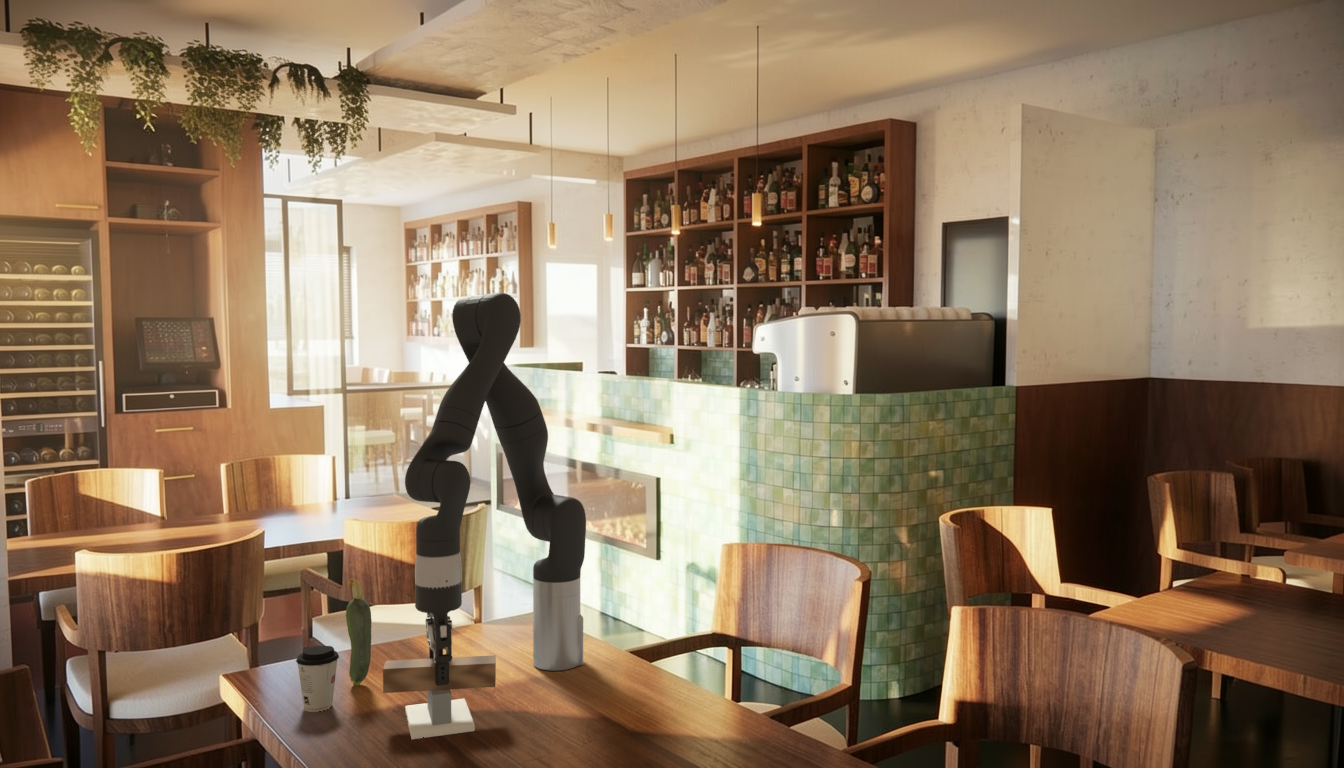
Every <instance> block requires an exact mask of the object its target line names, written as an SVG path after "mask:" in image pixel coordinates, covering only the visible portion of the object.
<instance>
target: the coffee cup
mask: <svg viewBox="0 0 1344 768" xmlns="http://www.w3.org/2000/svg"><path fill="white" fill-rule="evenodd" d="M339 658H340V655H339V653H338V652H337V650H335V648H334V647H333V646H332V645H315V646H310V647H307V648H305V649H303V650H302V653H300V654H299V655H297V658H296V660H295V662H296V663H297V668H298V676H299V681H300V682H299V684H300V689H301V695H302V704H303V710H304V711H305V712H308V713H320V712H319V711H321V712H324V711H323V710H325V711H327V710H326V709H328V710H329V708H330V707H331V706H332V707H333V704H334V703H333V702H334V701H333V700H334V694H335V693H334V692H335V683H336V677H337V676H336V675H337V666H338V659H339ZM332 707H331V708H332ZM331 708H330V709H331Z"/></svg>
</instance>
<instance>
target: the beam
mask: <svg viewBox="0 0 1344 768" xmlns="http://www.w3.org/2000/svg"><path fill="white" fill-rule="evenodd" d="M496 656H497V655H474V656H457V657H456V656H454V657H453V656H452V661H450V662H449V683H448V684H447V685H440V686H437V685H436V684H435V663H434V658H431V659H429V658H416V659H414V658H413V659H397V660H396V659H395V660H393V659H392V660H385V663H384V665H383V668H382V693H383V694H389V693H390V694H392V693H408V692H409V693H410V692H427V691H431V690H449V689H450V690H463V689H465V690H466V689H467V690H468V689H481V688H483V689H484V688H496V682H497V679H496V678H497V677H496V676H497V675H496V674H497V671H496V668H497V667H496V665H497V664H496V663H497V662H496V661H497V660H496V659H497V658H496Z"/></svg>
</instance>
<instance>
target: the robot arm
mask: <svg viewBox="0 0 1344 768" xmlns="http://www.w3.org/2000/svg"><path fill="white" fill-rule="evenodd" d="M451 314H452V319H451V320H452V324H453V329H454V333H455V335H456V338H457V341H458V342H459V344H460V347H461V350H462V351H463V353H464V355H465V358H466V359H467V361H468V364H467V365H466V366H465V369H463V370H462V371H461V373H460V374H459V375H458V376H457V377H456V379H455V380H454V381H453V382H452V384H451V385H450V386H449V388H448V389H447V390H446V392H445V394H444V396H443V398H442V399H441V401H440V404H439V406H438V410H437V413H436V416H435V419H434V422H433V424H432V429H431V431H430V433H429V434H428V436H427V437H426V439H424V441H423V443H422V444H421V446H420V447H419V449H418V450H417V452H416V453H415V455H414V456H413V458H412V459H411V461H410V463H409V464H408V467H407V469H406V473H405V477H404V487H405V490H406V493H407V495H408V496H409V498H411V499H412V500H413V501H417V502H425V503H436V504H438V503H439V509H438V512H437V514H434V515H428V516H424V517H422V518H420V519H419V520H418V521H417V523H416V524H417V525H416V529H415V530H416V532H415V535H416V539H415V541H416V542H415V543H416V544H415V545H416V546H415V547H416V548H415V550H416V551H415V553H416V557H415V564H414V582H415V583H414V594H415V595H414V607H415V609H416V610H417V611H418V612H421V613H425V614H426V617H425V620H424V621H425V634H426V635H425V636H426V639H427V640H426V642H427V645H428V646H429V647H428V648H429V649H428V651H429V652H428V653H429V654H428V655H429V656H428V657H429V658H428V659H431V658H434V663H435V684H436V685H437V686H440V685H447V684H448V683H449V662H450V661H452V657H453V656H452V654H453V653H452V652H453V651H452V645H453V637H452V630H453V620H452V619H451V617H450V615H448V614H449V613H450V612H453V611H457V610H458V609H459V608H460V607H461V606H462V603H463V601H462V600H463V599H462V598H463V596H462V595H463V594H462V593H463V592H462V590H463V588H462V587H463V586H462V583H463V581H462V579H463V578H462V577H463V575H462V572H463V571H462V569H463V568H462V558H461V546H460V544H461V543H460V542H461V540H460V539H461V538H460V537H461V525H462V521H463V516H464V511H465V508H466V505H467V500H468V497H469V494H470V489H471V477H470V473H469V470H468V468H467V467H466V466H465V465H464V463H462V462H461V461H457V460H448V458H450V457H452V456H454V455H459V454H462V453H465V452H467V451H468V450H469V449H470V448H471V447H472V444H473V441H474V439H475V438H474V437H475V435H476V434H475V433H476V431H477V427H478V424H479V422H480V417H481V415H482V411H483V409H484V406H485V404H486V406H487V408H488V412H489V414H490V417H491V420H492V424H493V428H494V429H495V433H496V435H497V438H498V440H499V443H500V445H501V447H502V450H503V453H504V456H505V457H506V462H507V464H508V469H509V470H510V474H511V476H512V479H513V482H514V485H515V490H516V494H517V498H518V502H519V506H520V511H521V515H522V519H523V521H524V522H523V523H524V524H525V527H526V530H527V531H528V533H529V534H530V535H531V536H532V537H533V538H535V539H538V540H539V541H542V542H543V541H544V542H548V543H549V546H548V555H547V557H543V558H541V559H538V560H537V561H535V563H534V564H533V568H532V569H533V570H532V575H533V577H532V578H533V579H532V581H533V582H532V585H533V586H532V589H533V596H532V597H533V603H532V604H533V605H532V608H533V609H532V610H533V611H532V612H533V613H532V614H533V616H532V618H533V620H532V627H533V629H532V632H533V634H532V635H533V636H532V637H533V638H532V639H533V640H532V641H533V642H532V645H533V646H532V647H533V650H532V656H533V657H532V658H533V659H532V661H533V663H532V664H533V666H534V667H535V668H537V669H539V670H542V671H543V670H544V671H565V670H570V669H573V668H577V667H578V666H584V616H583V615H582V614H581V575H582V574H581V572H582V571H581V570H582V566H583V565H584V560H585V553H586V550H585V549H586V536H587V535H586V532H587V518H586V516H587V515H586V511H585V507H584V505H583V503H582V502H581V501H580V500H579V499H578V498H575V497H571V496H567V495H566V496H565V495H560V494H554V492H553V491H552V489H551V486H550V484H549V482H548V478H547V476H546V472H545V466H544V462H545V457H546V454H547V453H546V452H547V447H548V441H549V431H548V428H547V423H546V420H545V417H544V414H543V412H542V408H541V406H540V403H539V401H538V399H537V398H536V395H535V394H533V393H532V391H531V390H530V389H529V388H528V386H527V385H525V383H523V381H521V379H519V378H518V376H516V375H515V373H514V372H512V371H511V370H510V369H509V368H508V366H507V365H506V363H505V361H506V359H507V356H508V354H509V353H510V351H511V349H512V346H513V345H514V343H515V341H516V338H517V336H518V334H519V331H520V327H521V321H522V318H521V317H522V316H521V309H520V307H519V304H518V301H516V299H515V298H514V297H513V296H512V295H510V294H508V293H504V292H493V293H483V294H477V295H470V296H466V297H465V296H464V297H462V298H459V299H458V300H457V301H456V302H455V304H454V306H453V308H452V313H451ZM444 650H445V653H444Z"/></svg>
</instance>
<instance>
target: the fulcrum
mask: <svg viewBox="0 0 1344 768" xmlns="http://www.w3.org/2000/svg"><path fill="white" fill-rule="evenodd" d="M426 692H427V695H426V696H427V697H426V699H427V700H426V701H427V702H426V703H425V702H424V703H417V704H410V705H409V704H408V705H405V707H404V708H405V710H404V711H405V717H406V716H407V717H406V722H407V721H408V722H407V725H408V726H407V727H408V732H409V735H410V738H411V740H418V739H425V738H432V737H439V736H447V735H455V734H462V733H470V732H475V730H476V729H475V728H476V727H475V722H474V719H473V717H472V714H471V711H470V709H469V707H468V704H467V701H466V699H465V697H463V698H457V699H452V692H451V689H449V690H431V691H426ZM423 737H424V738H423Z"/></svg>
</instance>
